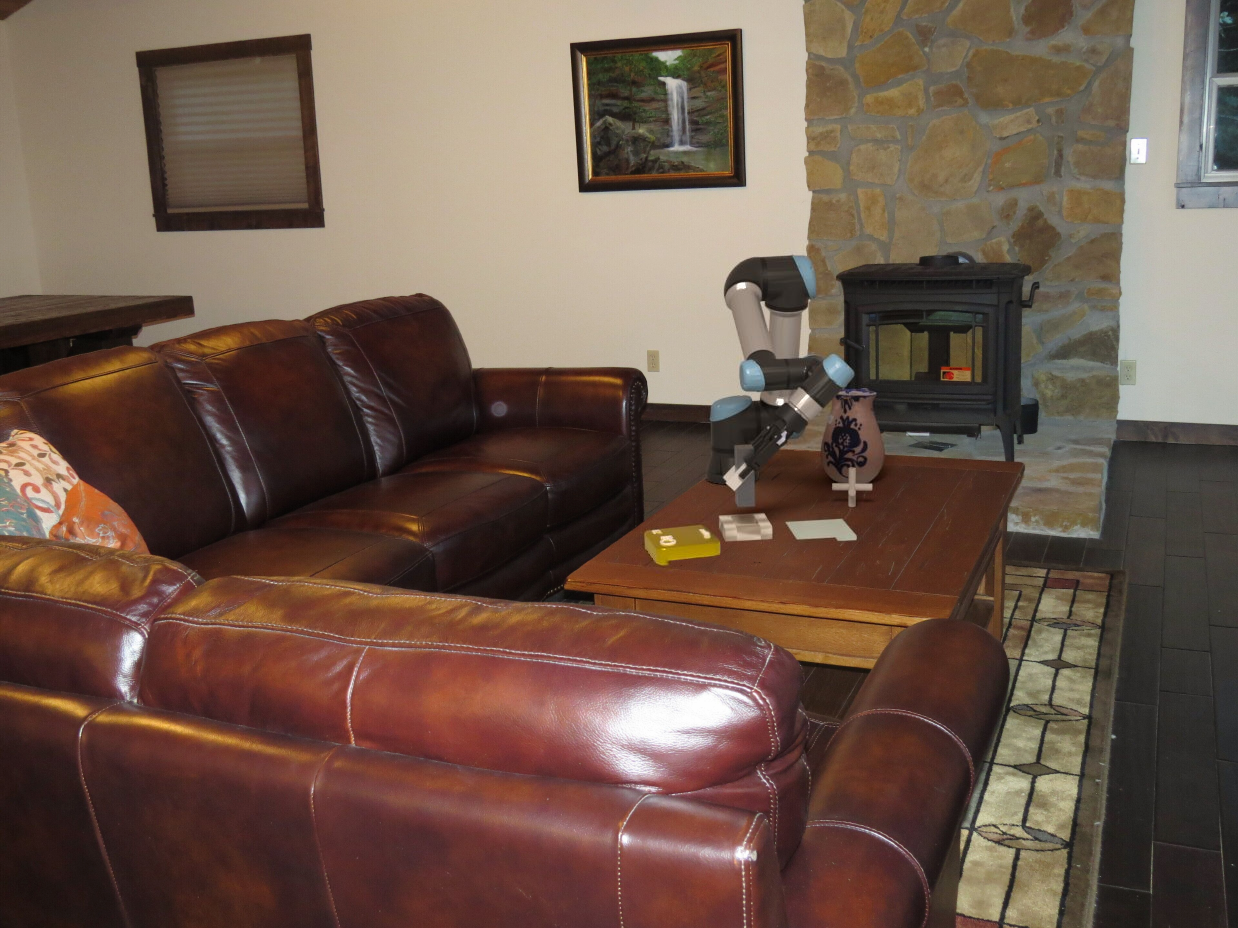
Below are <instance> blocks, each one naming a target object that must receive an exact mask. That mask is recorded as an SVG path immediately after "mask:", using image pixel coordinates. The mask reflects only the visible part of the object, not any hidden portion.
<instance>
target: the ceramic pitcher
mask: <svg viewBox="0 0 1238 928" xmlns="http://www.w3.org/2000/svg"><path fill="white" fill-rule="evenodd" d="M877 396H878V395H877V391H876V392H875V391H873V390H869V389H868V388H867V387H865V388H858V389H857V388H851V389H850V388H849V389H844V388H843V389H842V390H841V391H840V392H839V393H838V394H837V395H836V396H835V397H834V398H833V399H832V400H831V402H832V403H831V410H830V413H829V416H828V418H827V419H828V420H827V423H826V426H825V429H824V432H823V435H822V436H823V437H822V440H821V444H820V462H821V464H822V468H823V469H824V472H826V474H827V476H829V478H831V479H832V480H833V481H835V482H837V483H848V484H849V468H856V484H869V483H870V482H871V481H872V480H873V479H875V478H876V477H877V476H878V474H879V473H880V471H881V470H882V468H883V465H884V464H885V459H886V457H885V456H886V452H885V445H884V440H883V437H882V433H881V430H880V427H879V423H878V421H877V418H876V413H875V411H874V406H873V404H874V403H873V402H874V399H875V398H876V397H877Z"/></svg>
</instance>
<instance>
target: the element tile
mask: <svg viewBox="0 0 1238 928" xmlns="http://www.w3.org/2000/svg"><path fill="white" fill-rule="evenodd" d="M644 550H645V551H646V550H647V551H648V552H647V551H646V552H647V553H648V555H649V554H650V555H649V556H650V558H651V559H652V558H653V559H652V560H653V562H654V563H655V564H657V565H660V566H669V565H670V562H669V561H679V560H686V559H687V560H688V559H696V558H706V557H714V556H717V555H718V556H720V554H721V540H720V539H719V538H718V537H716V535H715V534H714V533H712V531H711V530H709V529H708V527H706V526H705V525H702V524H696V525H688V526H687V525H686V526H677V527H676V526H675V527H668V528H658V529H647V530H645V532H644Z"/></svg>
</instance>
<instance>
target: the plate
mask: <svg viewBox="0 0 1238 928" xmlns="http://www.w3.org/2000/svg"><path fill="white" fill-rule="evenodd" d="M785 524H786V525H787V527H788V529H789V530H790V531H791V533H792V534H793V536H794V537H795V539H796V540H808V539H809V540H811V539H826V538H828V539H829V538H835V539H836V540H837V542H842V541H843V542H844V541H846V542H847V541H857V538H858V537H857V534H856V533H855V532H854V530H852V529H851V527H850V526H849V525H848V524H847V522H846V521H844V519H843V518H836V519H818V520H817V519H815V520H814V519H813V520H799V521H798V520H797V521H785Z"/></svg>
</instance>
